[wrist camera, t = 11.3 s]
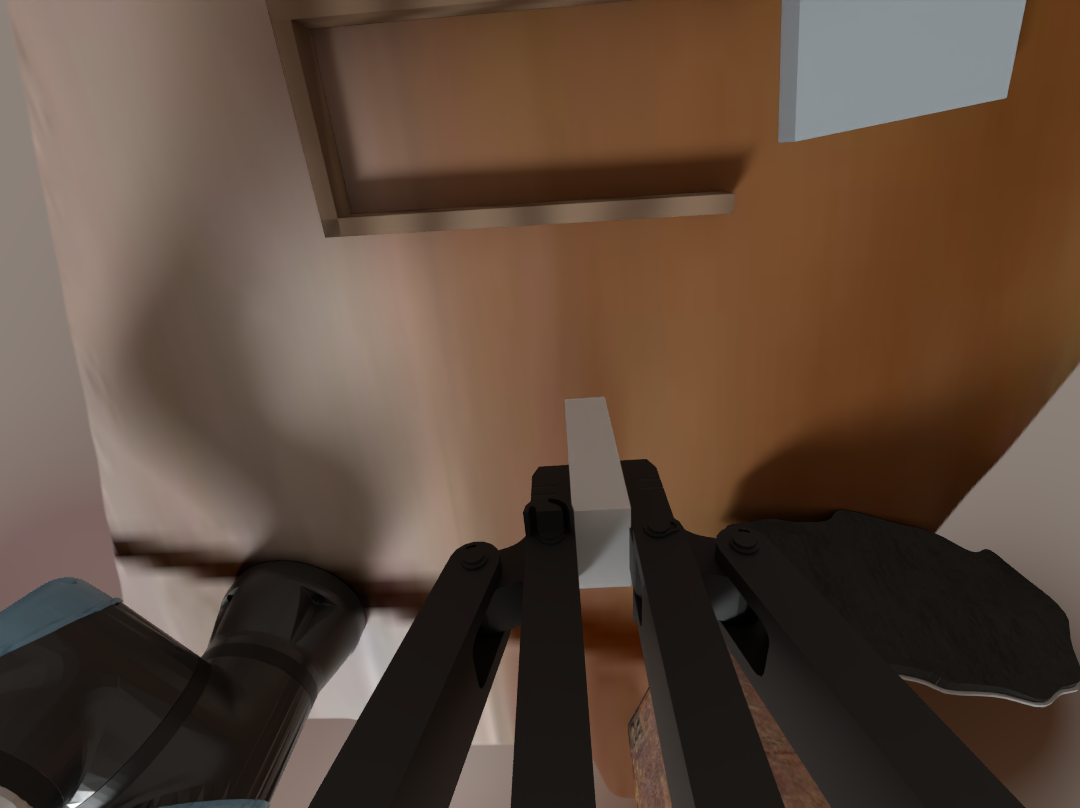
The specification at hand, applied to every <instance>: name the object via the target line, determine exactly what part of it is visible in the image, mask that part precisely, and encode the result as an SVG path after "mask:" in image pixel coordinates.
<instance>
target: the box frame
mask: <svg viewBox="0 0 1080 808" xmlns="http://www.w3.org/2000/svg"><path fill="white" fill-rule="evenodd" d="M619 1H630V0H266V4H267V8H268V12H269V16H270V20H271V24H272V28H273V32H274V36H275V40H276V44H277V48H278V52H279V56H280V60H281V64H282V68H283V72H284V76H285V80H286V84H287V88H288V91H289V95H290V99H291V103H292V107H293V111H294V115H295V119H296V123H297V127H298V131H299V135H300V139H301V143H302V147H303V151H304V155H305V159H306V163H307V167H308V171H309V175H310V179H311V183H312V187H313V191H314V195H315V199H316V203H317V207H318V210H319V214H320V218H321V222H322V226H323V230H324V234H325V238H326V237H342V236H359V235H376V234H393V233H409V232H426V231H443V230H460V229H476V228H493V227H510V226H526V225H543V224H560V223H577V222H593V221H610V220H627V219H643V218H660V217H677V216H694V215H710V214H727V213H733V207H734V198H735V193H731V192H727V191H713V192H697V193H681V194H665V195H649V196H633V197H617V198H602V199H586V200H570V201H554V202H538V203H522V204H506V205H490V206H474V207H458V208H442V209H426V210H410V211H395V212H379V213H363V214H351V210H350V205H349V201H348V196H347V192H346V187H345V183H344V178H343V174H342V170H341V165H340V161H339V156H338V152H337V147H336V143H335V138H334V134H333V129H332V125H331V120H330V116H329V111H328V107H327V103H326V98H325V94H324V89H323V85H322V80H321V76H320V71H319V67H318V62H317V58H316V53H315V49H314V44H313V40H312V35H311V31H310V29H315V28H326V27H338V26H349V25H360V24H371V23H383V22H394V21H405V20H416V19H428V18H439V17H450V16H461V15H473V14H484V13H495V12H506V11H518V10H529V9H540V8H551V7H563V6H574V5H585V4H597V3H608V2H619Z"/></svg>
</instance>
